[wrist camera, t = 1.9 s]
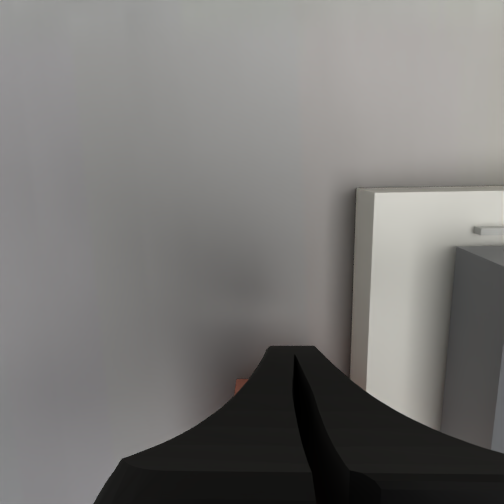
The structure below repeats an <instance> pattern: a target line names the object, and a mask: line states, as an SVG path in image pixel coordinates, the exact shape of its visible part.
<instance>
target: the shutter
mask: <svg viewBox="0 0 504 504" xmlns="http://www.w3.org/2000/svg"><path fill="white" fill-rule="evenodd" d="M440 432H442V433H444V434H447V435H449V436H452V437H455V438H458V439H460V440H463V441H466V442H468V443H471V444H474V445H477V446H480V447H483V448H486V449H490V450H493V451H497V452H500V453H504V246H456V255H455V267H454V278H453V290H452V301H451V312H450V324H449V335H448V347H447V358H446V370H445V381H444V393H443V404H442V416H441V427H440Z"/></svg>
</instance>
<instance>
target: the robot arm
mask: <svg viewBox="0 0 504 504" xmlns="http://www.w3.org/2000/svg"><path fill="white" fill-rule="evenodd" d="M94 504H504V453H500V452H497V451H493V450H490V449H486V448H483V447H480V446H477V445H474V444H471V443H468V442H466V441H463V440H460V439H458V438H455V437H452V436H449V435H447V434H444V433H442V432H440V431H437V430H435V429H432V428H430V427H428V426H426V425H424V424H422V423H420V422H418V421H415V420H413V419H411V418H409V417H407V416H405V415H403V414H402V413H400V412H398V411H396V410H394V409H393V408H391V407H389V406H388V405H386V404H384V403H383V402H381V401H379V400H378V399H376V398H375V397H373V396H372V395H370V394H369V393H367V392H366V391H365V390H363V389H362V388H361V387H359V386H358V385H357V384H355V383H354V382H353V381H352V380H350V379H349V378H348V377H347V376H346V375H344V374H343V373H342V372H341V371H340V370H339V369H338V368H337V367H335V366H334V365H333V364H332V363H331V362H330V361H329V360H328V359H327V358H326V357H325V356H324V355H323V354H322V353H321V352H320V351H319V350H318V349H317V348H316V347H315V346H270V347H269V348H268V349H267V350H266V352H265V355H264V357H263V358H262V360H261V362H260V363H259V365H258V367H257V368H256V369H255V371H254V372H253V374H252V375H251V377H250V378H249V379H248V381H247V382H246V383H245V384H244V385H243V386H242V388H241V389H240V390H239V391H238V392H237V393H236V394H235V395H234V396H233V397H232V399H231V400H229V401H228V402H227V403H226V404H225V405H224V406H223V407H222V408H221V409H219V410H218V411H217V412H215V413H214V414H212V415H211V416H210V417H208V418H207V419H205V420H204V421H202V422H201V423H199V424H198V425H196V426H195V427H193V428H191V429H190V430H188V431H186V432H184V433H183V434H181V435H179V436H177V437H175V438H173V439H171V440H169V441H166V442H164V443H162V444H160V445H157V446H155V447H152V448H150V449H147V450H144V451H142V452H139V453H137V454H134V455H131V456H129V457H126V458H123V459H122V460H121V461H120V462H119V464H118V466H117V467H116V469H115V470H114V472H113V473H112V475H111V476H110V477H109V479H108V480H107V482H106V483H105V485H104V487H103V488H102V490H101V492H100V493H99V495H98V496H97V498H96V500H95V502H94Z"/></svg>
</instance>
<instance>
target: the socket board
mask: <svg viewBox="0 0 504 504" xmlns="http://www.w3.org/2000/svg"><path fill="white" fill-rule="evenodd" d="M456 246H504V186H458V187H400V188H356V218H355V247H354V276H353V306H352V335H351V365H350V380H352V381H353V382H354V383H355V384H357V385H358V386H359V387H361V388H362V389H363V390H365V391H366V392H367V393H369V394H370V395H372V396H373V397H375V398H376V399H378V400H379V401H381V402H383V403H384V404H386V405H388V406H389V407H391V408H393V409H394V410H396V411H398V412H400V413H402V414H403V415H405V416H407V417H409V418H411V419H413V420H415V421H418V422H420V423H422V424H424V425H426V426H428V427H430V428H432V429H435V430H437V431H440V427H441V416H442V404H443V393H444V381H445V370H446V358H447V347H448V335H449V324H450V312H451V301H452V290H453V278H454V267H455V255H456Z"/></svg>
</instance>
